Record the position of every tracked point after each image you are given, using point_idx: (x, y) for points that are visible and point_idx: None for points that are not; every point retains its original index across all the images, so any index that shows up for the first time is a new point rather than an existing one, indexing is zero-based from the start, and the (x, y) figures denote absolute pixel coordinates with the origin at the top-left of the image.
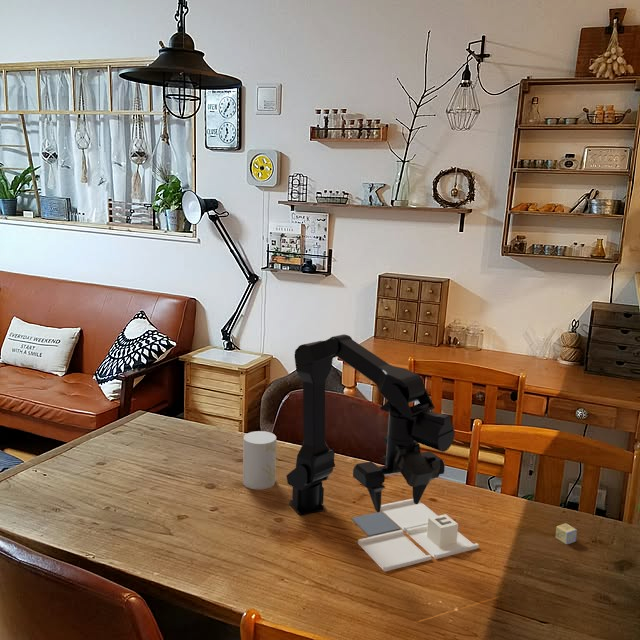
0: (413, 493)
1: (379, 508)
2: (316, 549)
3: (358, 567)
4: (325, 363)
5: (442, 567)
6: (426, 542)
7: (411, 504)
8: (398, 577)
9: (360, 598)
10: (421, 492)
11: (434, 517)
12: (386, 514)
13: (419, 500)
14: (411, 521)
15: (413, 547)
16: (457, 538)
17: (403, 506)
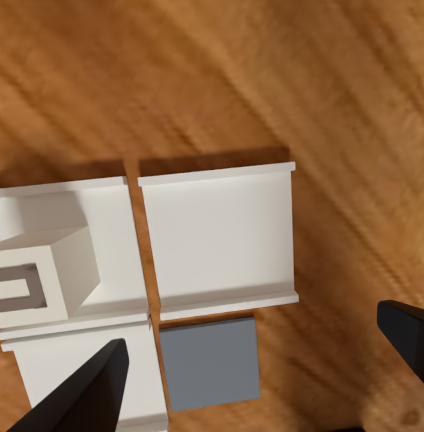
0: (111, 430)
1: (411, 311)
2: (393, 296)
3: (339, 202)
4: None
5: (123, 136)
6: (114, 257)
7: None
8: (265, 130)
9: (399, 76)
10: (44, 418)
11: (43, 317)
12: (163, 398)
13: (94, 355)
14: None
15: (162, 244)
16: None
17: None
